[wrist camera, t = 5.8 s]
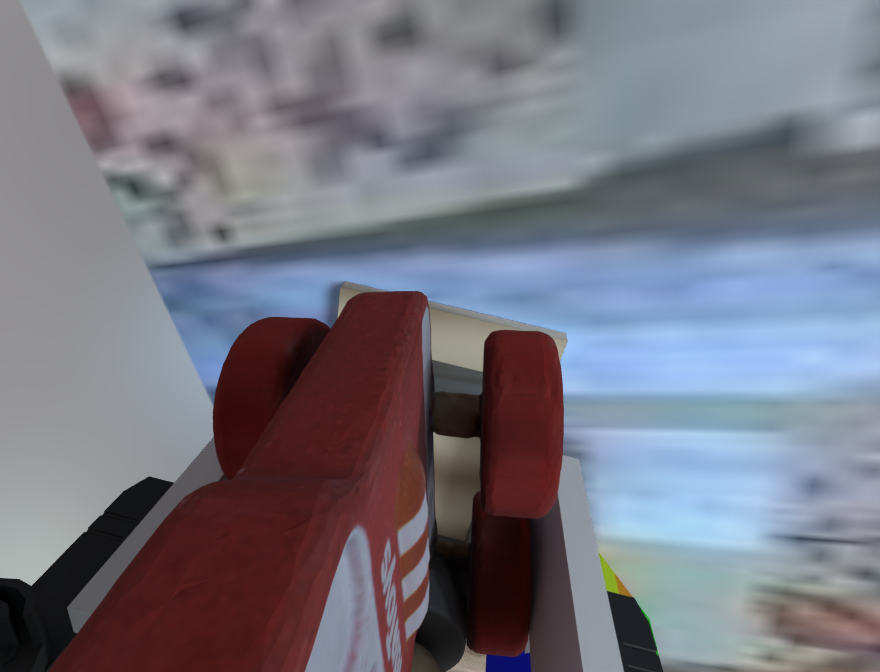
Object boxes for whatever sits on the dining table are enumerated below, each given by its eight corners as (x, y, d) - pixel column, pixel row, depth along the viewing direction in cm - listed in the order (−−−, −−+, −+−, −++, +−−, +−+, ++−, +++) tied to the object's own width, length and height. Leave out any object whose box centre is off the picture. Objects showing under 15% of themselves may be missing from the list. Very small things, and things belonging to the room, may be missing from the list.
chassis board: (345, 281, 29) (319, 311, 25) (565, 333, 28) (574, 372, 24) (321, 530, 40) (300, 578, 36) (476, 569, 40) (473, 622, 36)
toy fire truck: (322, 569, 17) (106, 1137, 8) (270, 232, 11) (-813, 850, 2) (514, 592, 16) (532, 1247, 7) (562, 245, 10) (1005, 1286, 1)
